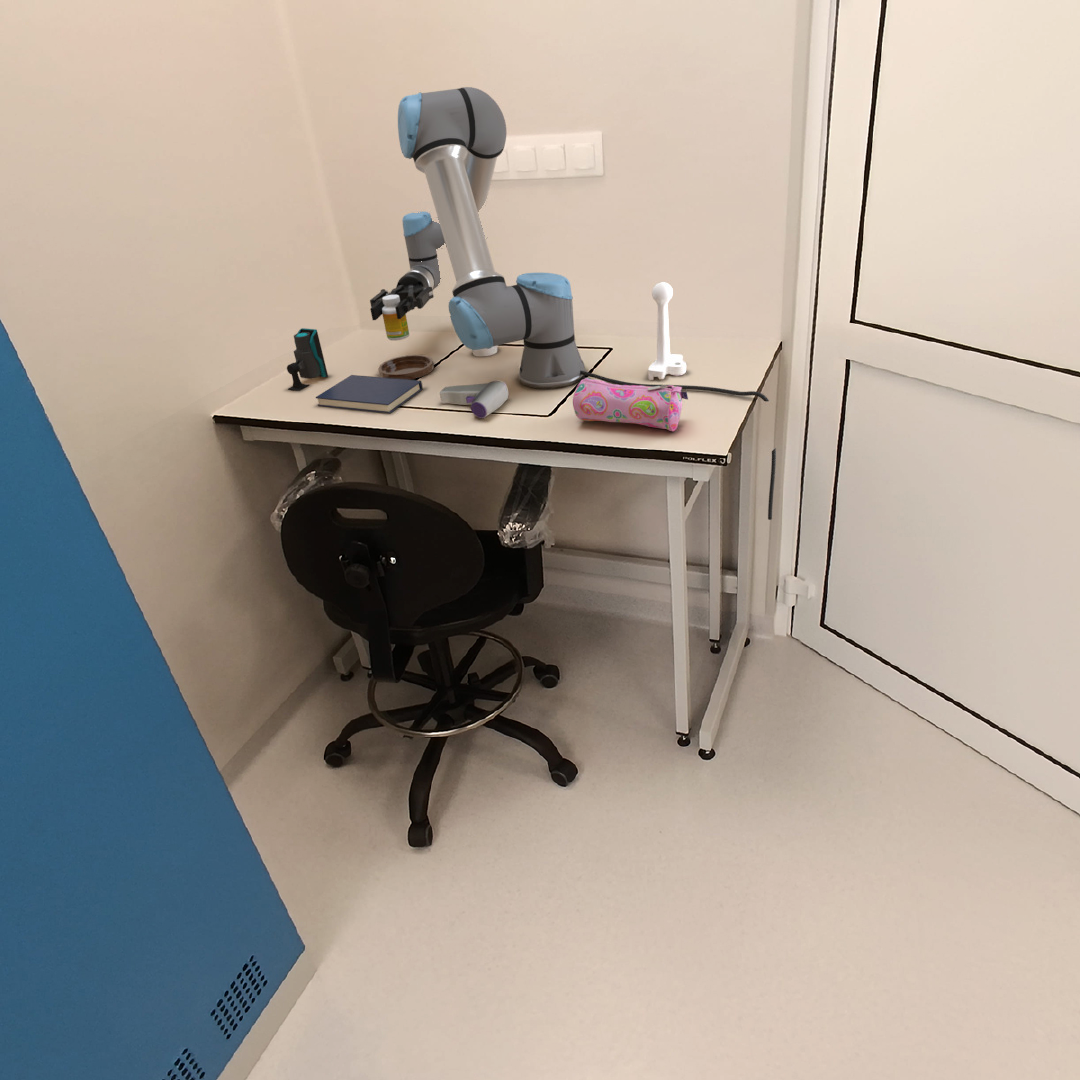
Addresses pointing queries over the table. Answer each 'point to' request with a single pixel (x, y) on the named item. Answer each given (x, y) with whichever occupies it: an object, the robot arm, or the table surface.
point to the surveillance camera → (307, 358)
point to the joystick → (664, 337)
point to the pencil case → (629, 403)
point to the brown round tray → (406, 367)
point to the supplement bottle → (394, 319)
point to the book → (370, 393)
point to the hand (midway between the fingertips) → (385, 313)
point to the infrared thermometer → (477, 396)
